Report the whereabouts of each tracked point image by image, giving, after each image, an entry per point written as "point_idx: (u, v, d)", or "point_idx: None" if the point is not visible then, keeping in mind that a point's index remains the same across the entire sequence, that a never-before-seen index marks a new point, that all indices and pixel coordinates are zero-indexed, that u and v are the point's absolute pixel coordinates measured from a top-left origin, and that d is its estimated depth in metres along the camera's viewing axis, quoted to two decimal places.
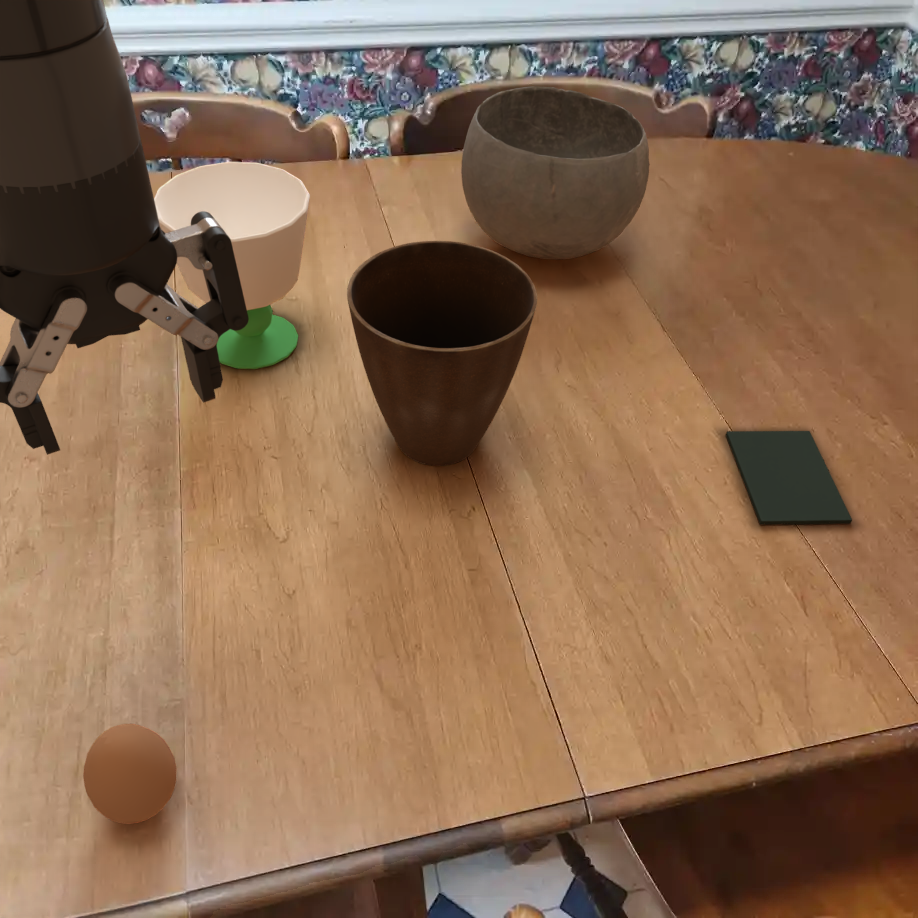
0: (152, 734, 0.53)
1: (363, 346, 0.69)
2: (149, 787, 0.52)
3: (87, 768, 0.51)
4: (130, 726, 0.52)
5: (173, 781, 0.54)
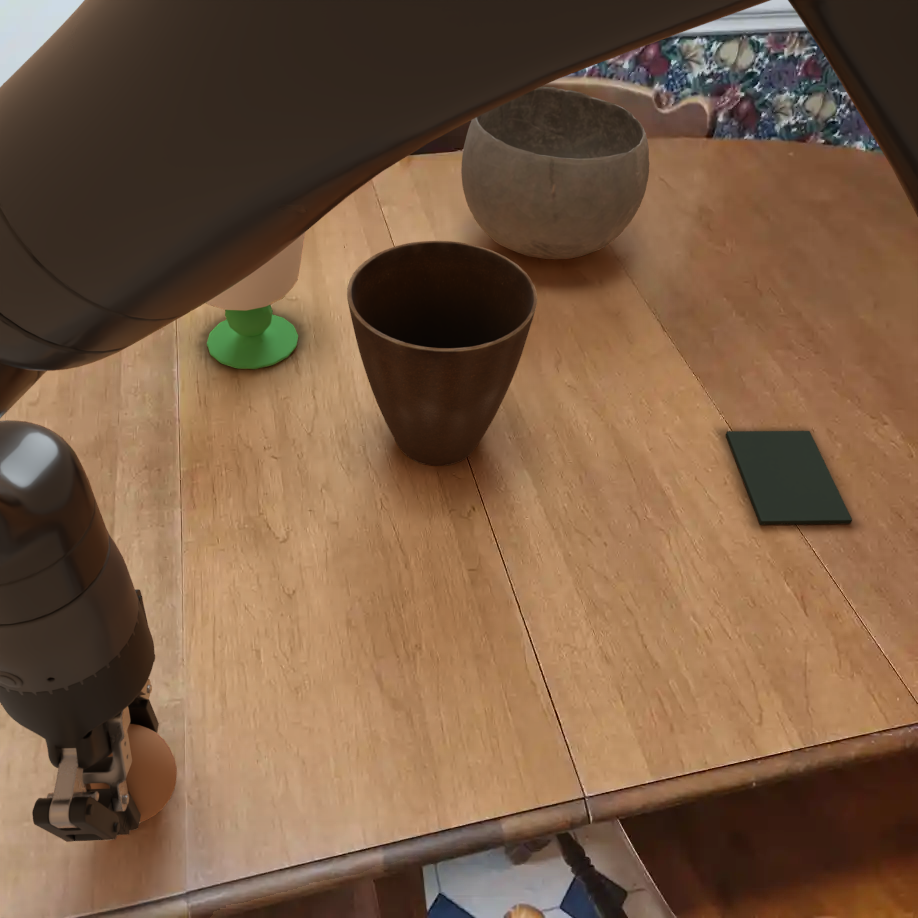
0: (152, 734, 0.53)
1: (363, 346, 0.69)
2: (149, 787, 0.52)
3: None
4: (130, 726, 0.52)
5: (173, 781, 0.54)
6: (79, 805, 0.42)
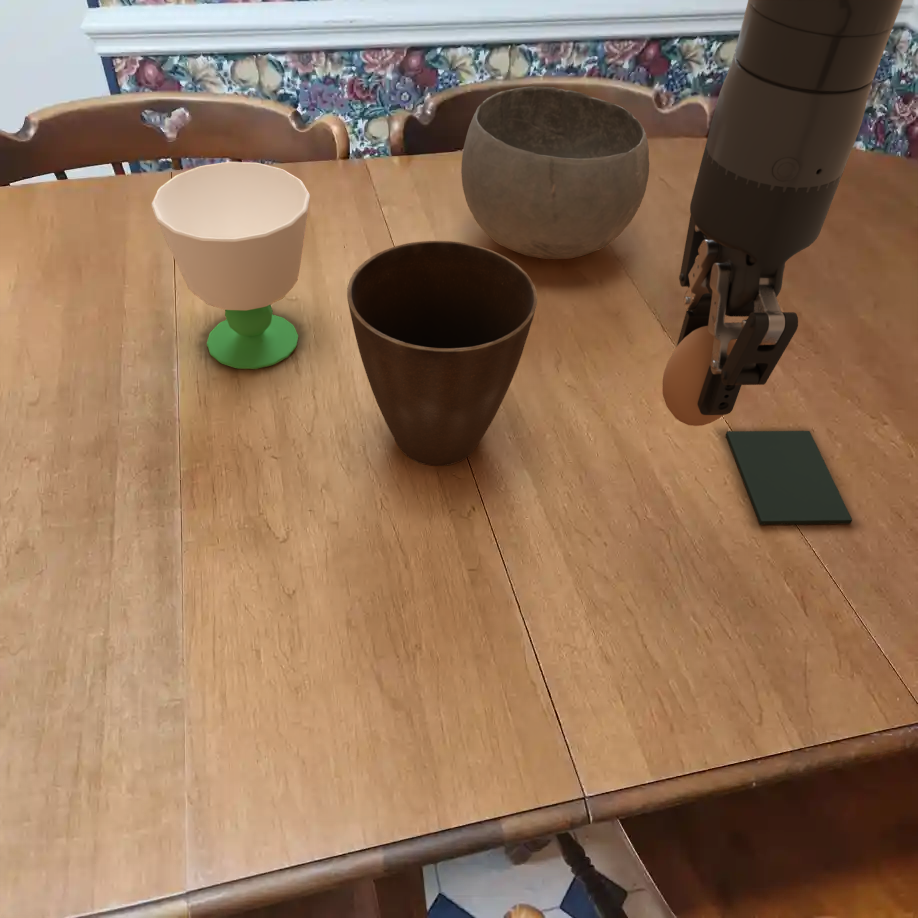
0: None
1: (363, 346, 0.69)
2: None
3: (689, 356, 0.58)
4: None
5: None
6: (791, 314, 0.49)
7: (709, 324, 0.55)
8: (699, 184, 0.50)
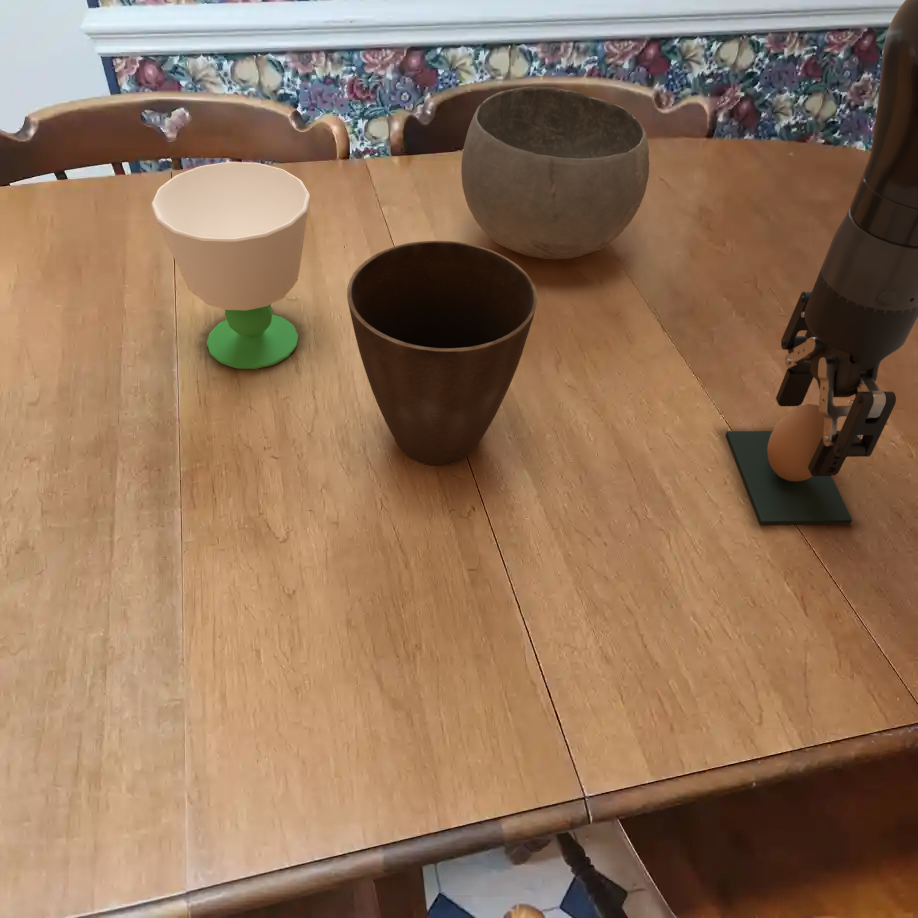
0: None
1: (363, 346, 0.69)
2: None
3: (793, 429, 0.74)
4: (813, 405, 0.75)
5: None
6: (889, 392, 0.64)
7: (820, 406, 0.69)
8: (815, 300, 0.65)
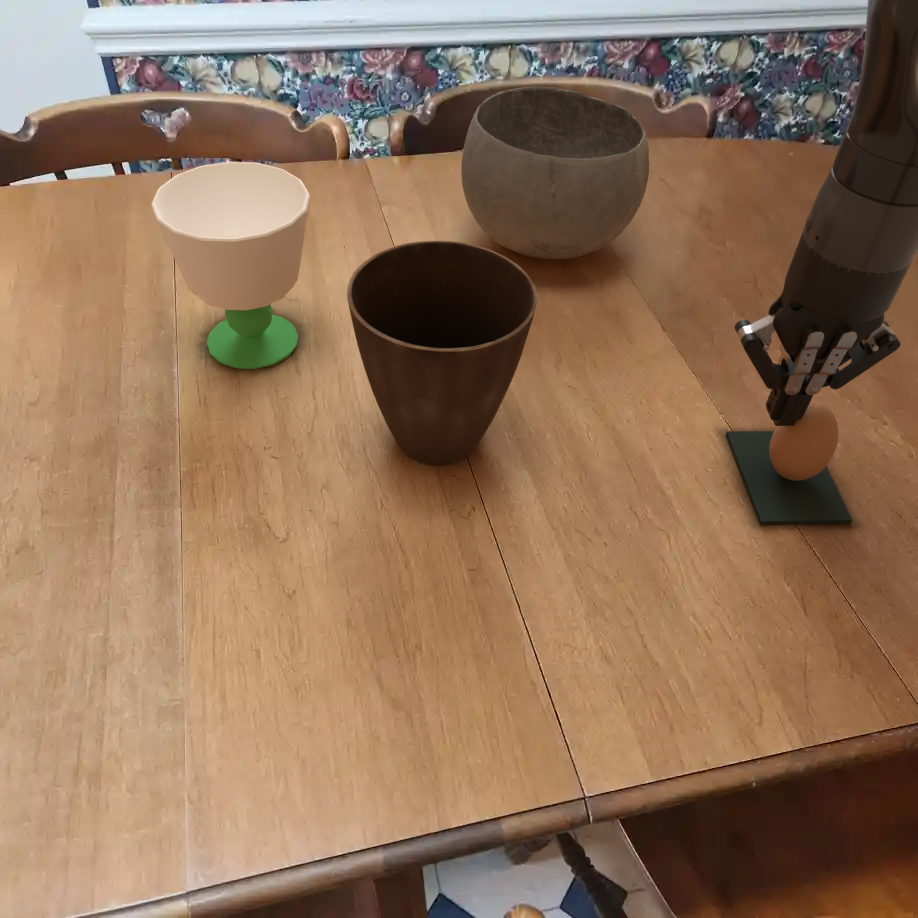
0: None
1: (363, 346, 0.69)
2: (835, 444, 0.74)
3: (798, 427, 0.74)
4: None
5: None
6: (748, 337, 0.66)
7: None
8: None
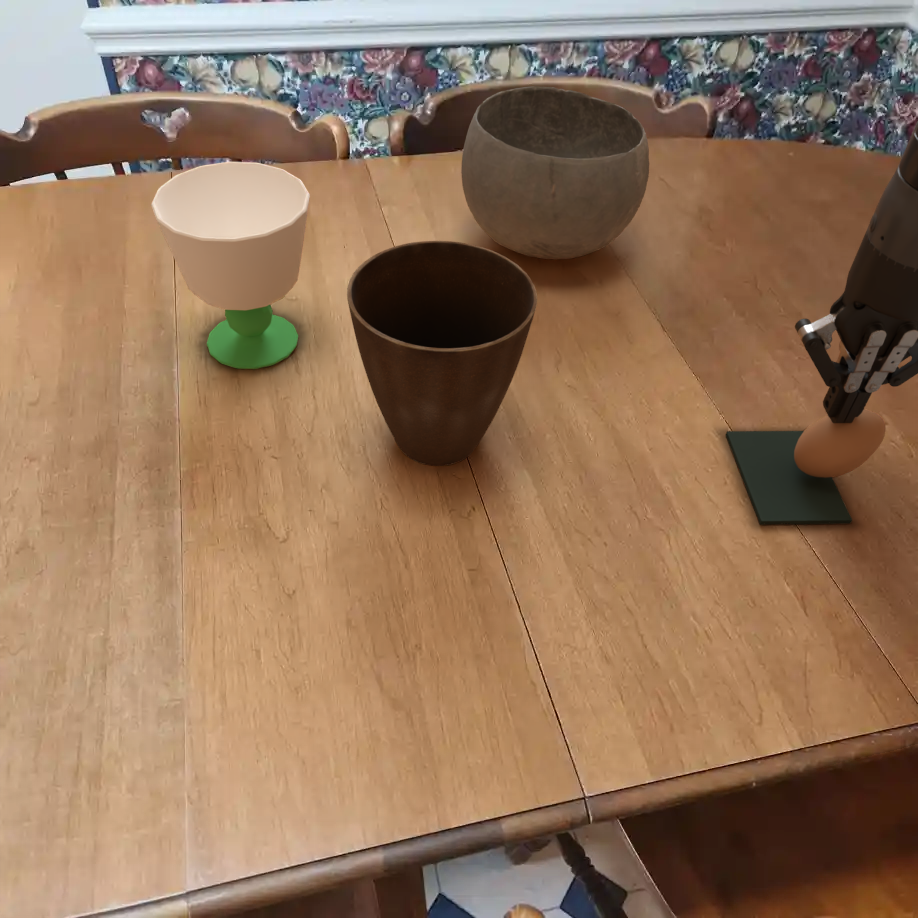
0: None
1: (363, 346, 0.69)
2: None
3: (862, 423, 0.74)
4: None
5: None
6: (810, 336, 0.67)
7: None
8: None
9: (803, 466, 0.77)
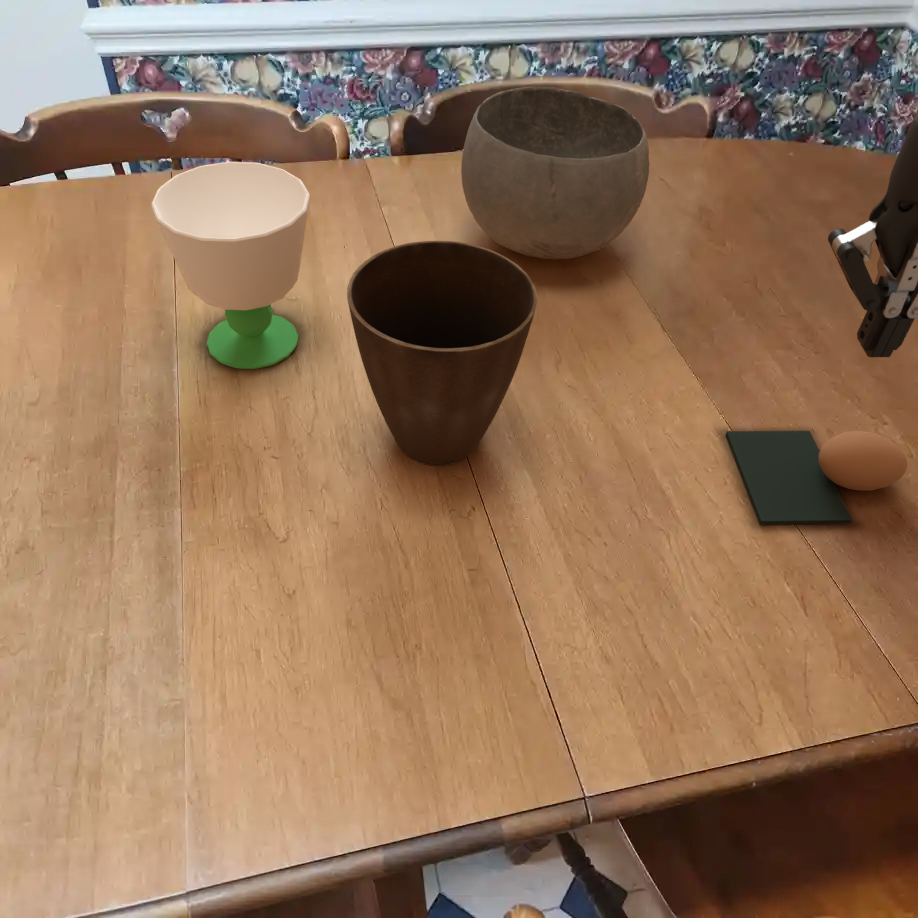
0: None
1: (363, 346, 0.69)
2: None
3: (902, 460, 0.76)
4: None
5: None
6: (847, 246, 0.58)
7: None
8: None
9: (834, 461, 0.76)
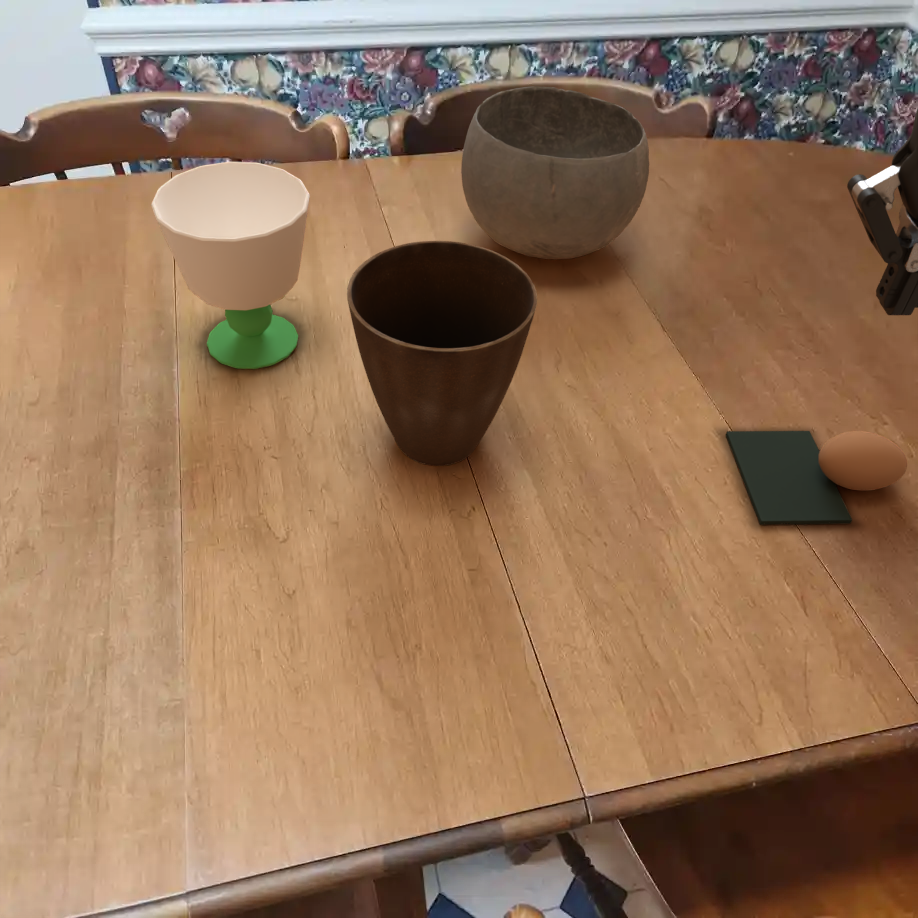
0: None
1: (363, 346, 0.69)
2: None
3: (902, 460, 0.76)
4: None
5: None
6: (868, 192, 0.54)
7: None
8: None
9: (834, 461, 0.76)
